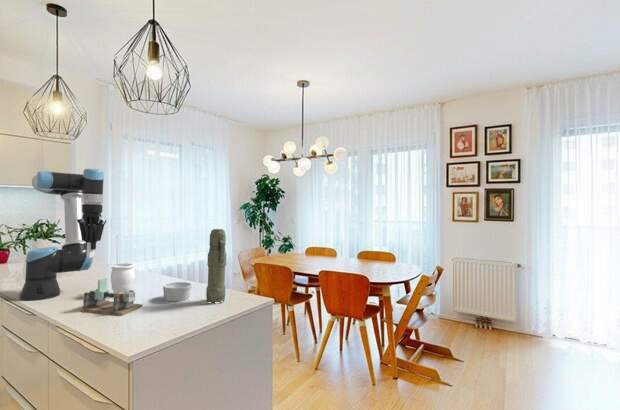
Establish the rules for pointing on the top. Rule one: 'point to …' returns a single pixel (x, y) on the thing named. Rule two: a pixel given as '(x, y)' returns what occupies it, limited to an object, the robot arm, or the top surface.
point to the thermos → (216, 266)
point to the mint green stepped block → (101, 289)
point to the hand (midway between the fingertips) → (90, 256)
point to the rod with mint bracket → (110, 303)
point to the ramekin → (177, 291)
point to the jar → (122, 277)
